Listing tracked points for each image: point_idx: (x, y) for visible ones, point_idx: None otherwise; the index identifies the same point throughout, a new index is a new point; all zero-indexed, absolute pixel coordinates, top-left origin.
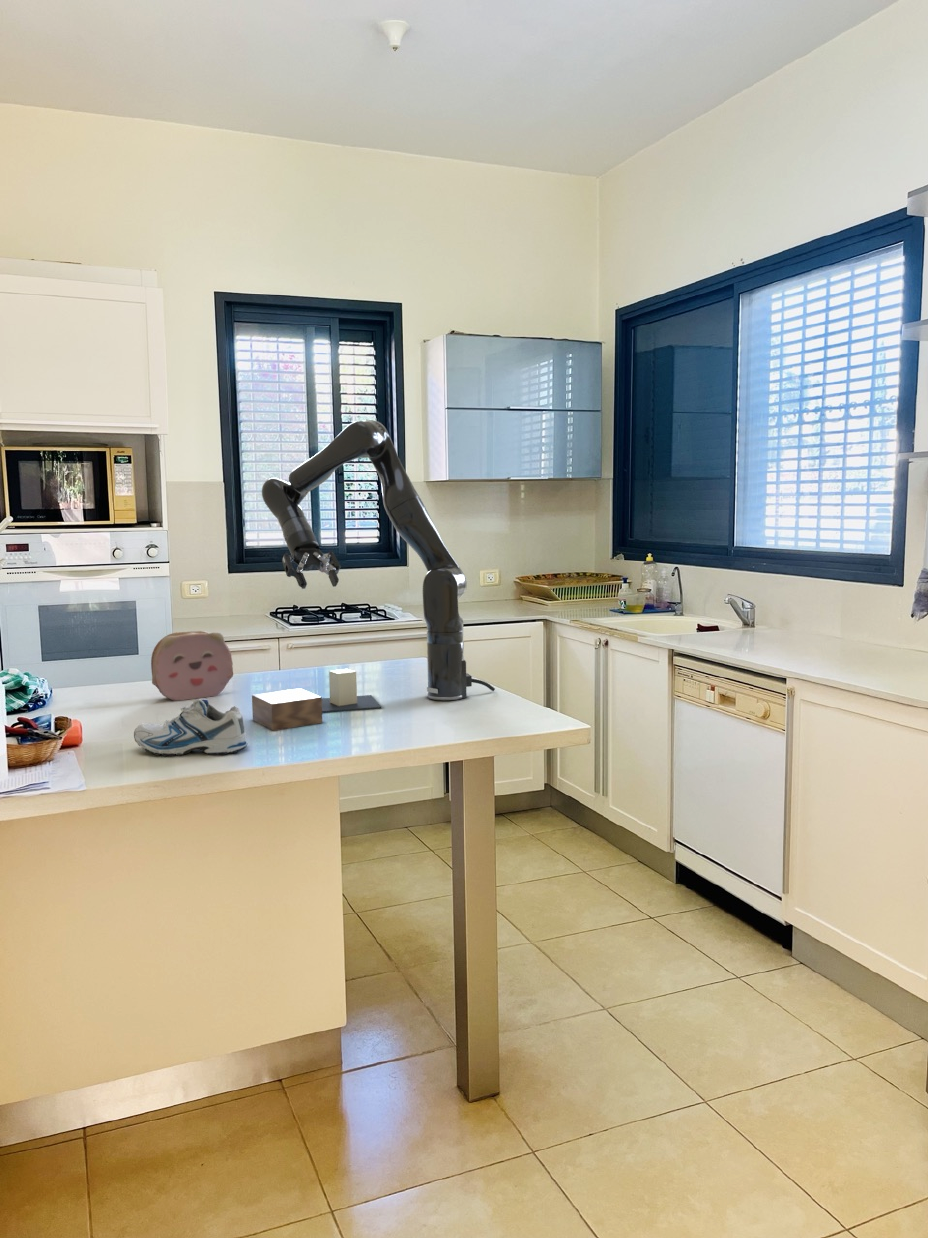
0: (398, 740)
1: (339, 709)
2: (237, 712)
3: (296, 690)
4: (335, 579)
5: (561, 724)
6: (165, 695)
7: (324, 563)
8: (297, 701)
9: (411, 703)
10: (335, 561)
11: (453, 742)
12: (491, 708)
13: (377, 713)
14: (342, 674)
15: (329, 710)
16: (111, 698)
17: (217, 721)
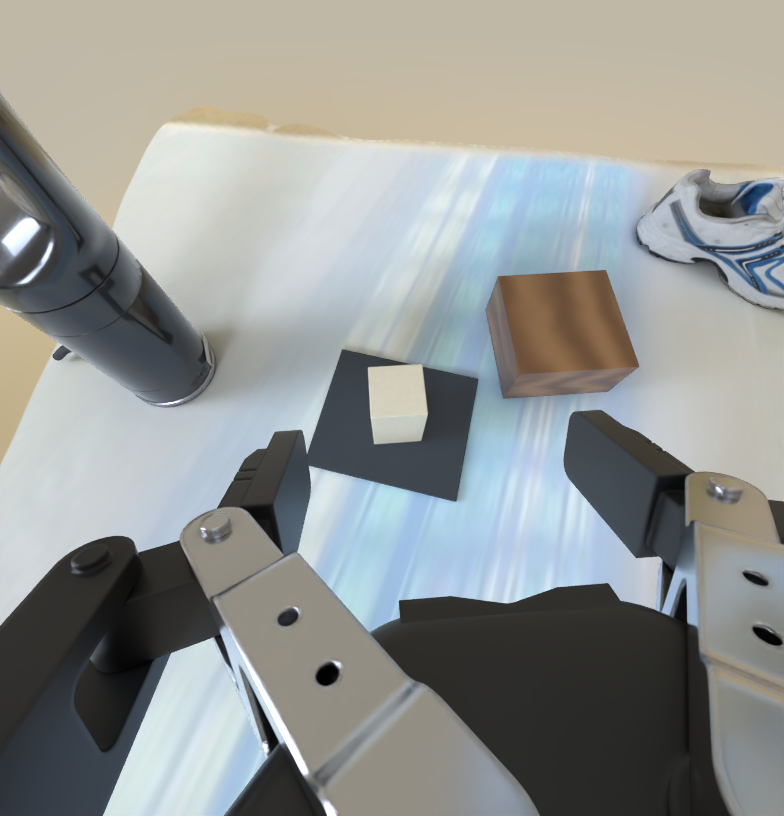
0: (414, 178)
1: (426, 371)
2: (686, 177)
3: (533, 355)
4: (288, 438)
5: (170, 144)
6: None
7: (309, 574)
8: (550, 274)
9: (267, 359)
10: (26, 663)
11: (354, 143)
12: (174, 256)
13: (367, 322)
14: (408, 366)
15: (447, 373)
16: None
17: (714, 182)
